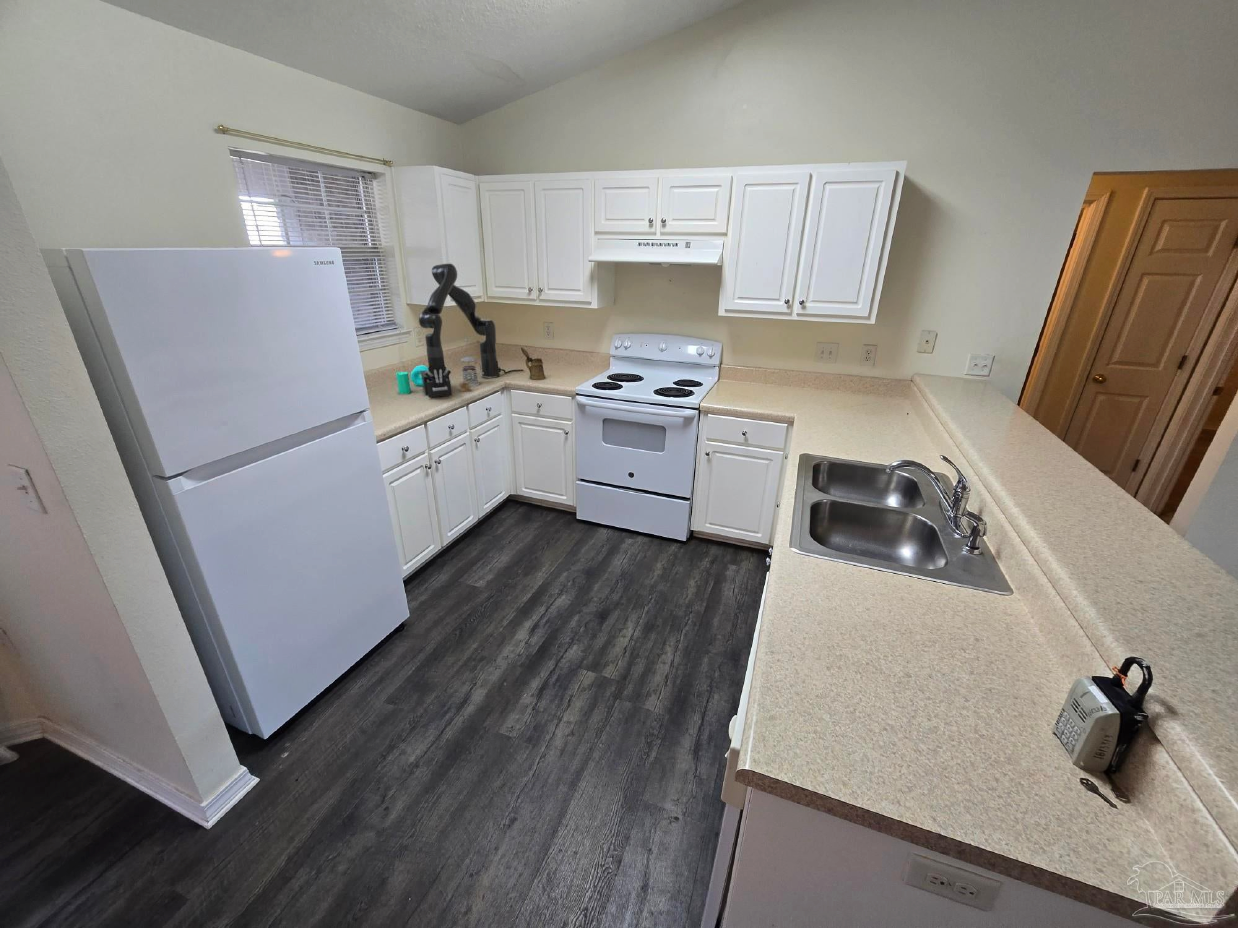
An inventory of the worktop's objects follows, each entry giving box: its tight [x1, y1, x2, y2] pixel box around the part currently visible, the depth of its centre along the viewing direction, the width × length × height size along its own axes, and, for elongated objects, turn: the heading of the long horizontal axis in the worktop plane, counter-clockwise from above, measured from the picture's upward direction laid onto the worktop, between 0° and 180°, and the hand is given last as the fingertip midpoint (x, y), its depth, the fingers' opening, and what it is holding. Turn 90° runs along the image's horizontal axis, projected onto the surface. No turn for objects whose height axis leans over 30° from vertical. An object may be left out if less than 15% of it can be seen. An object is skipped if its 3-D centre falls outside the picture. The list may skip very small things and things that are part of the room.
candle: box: [395, 369, 412, 395], centre depth 269 cm, size 6×6×12 cm
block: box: [459, 380, 471, 393], centre depth 276 cm, size 4×4×4 cm
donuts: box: [410, 364, 429, 387], centre depth 286 cm, size 10×10×10 cm
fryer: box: [420, 370, 451, 396], centre depth 273 cm, size 15×13×10 cm
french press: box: [460, 338, 482, 387], centre depth 285 cm, size 10×12×25 cm
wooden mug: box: [520, 347, 546, 381], centre depth 300 cm, size 9×14×18 cm, turn 84°
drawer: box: [426, 377, 453, 399], centre depth 263 cm, size 18×12×8 cm, turn 24°
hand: (440, 389), depth 258 cm, fingers closed
